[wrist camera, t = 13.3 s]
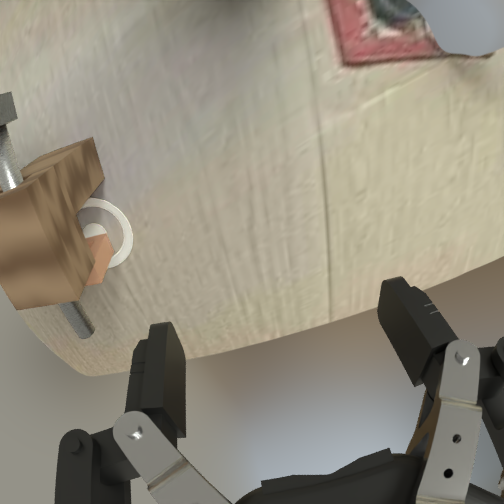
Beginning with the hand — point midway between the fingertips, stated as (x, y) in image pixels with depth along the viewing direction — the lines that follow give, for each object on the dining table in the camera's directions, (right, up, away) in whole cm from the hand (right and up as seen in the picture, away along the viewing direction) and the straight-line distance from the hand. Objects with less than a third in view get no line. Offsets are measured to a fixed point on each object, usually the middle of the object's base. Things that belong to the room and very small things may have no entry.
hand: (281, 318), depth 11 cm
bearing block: (-25, +12, +27) cm, 39 cm away
